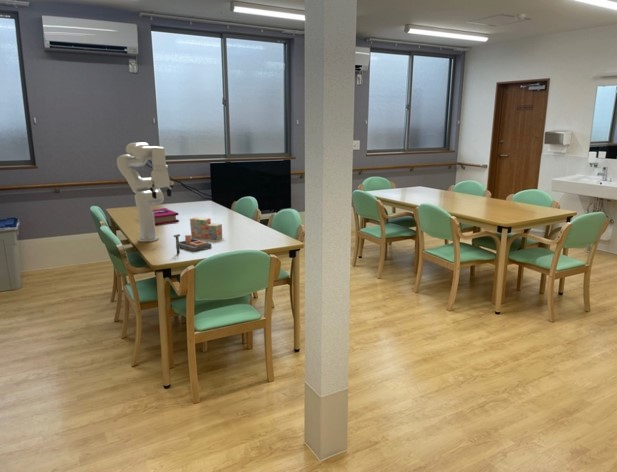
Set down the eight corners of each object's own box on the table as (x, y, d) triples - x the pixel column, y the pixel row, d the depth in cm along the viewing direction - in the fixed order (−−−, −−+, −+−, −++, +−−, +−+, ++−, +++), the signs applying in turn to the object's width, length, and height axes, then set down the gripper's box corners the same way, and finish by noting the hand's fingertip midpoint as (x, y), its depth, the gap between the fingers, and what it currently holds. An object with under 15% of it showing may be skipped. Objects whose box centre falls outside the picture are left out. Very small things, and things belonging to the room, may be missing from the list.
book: (152, 226, 343) (151, 216, 341) (140, 220, 364) (139, 210, 362) (179, 222, 355) (179, 212, 353) (166, 216, 377) (165, 207, 375)
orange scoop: (182, 245, 284) (181, 235, 283) (192, 243, 289) (191, 233, 288) (197, 249, 275) (196, 239, 274) (206, 247, 280) (206, 237, 279)
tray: (176, 246, 284) (175, 242, 284) (193, 242, 293) (193, 238, 293) (194, 251, 272) (193, 247, 272) (211, 247, 282) (211, 243, 281)
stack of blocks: (222, 237, 305) (221, 219, 302) (216, 240, 299) (215, 221, 296) (197, 234, 314) (196, 216, 311) (191, 236, 309) (189, 218, 306)
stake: (175, 253, 269) (173, 235, 266) (180, 252, 271) (178, 234, 269) (176, 254, 268) (175, 235, 265) (181, 252, 270) (180, 234, 268)
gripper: (168, 166, 282) (171, 194, 286) (142, 169, 270) (145, 198, 274) (175, 167, 277) (178, 196, 281) (149, 170, 265) (152, 199, 269)
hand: (162, 197), depth 278 cm, fingers open, 9 cm apart
